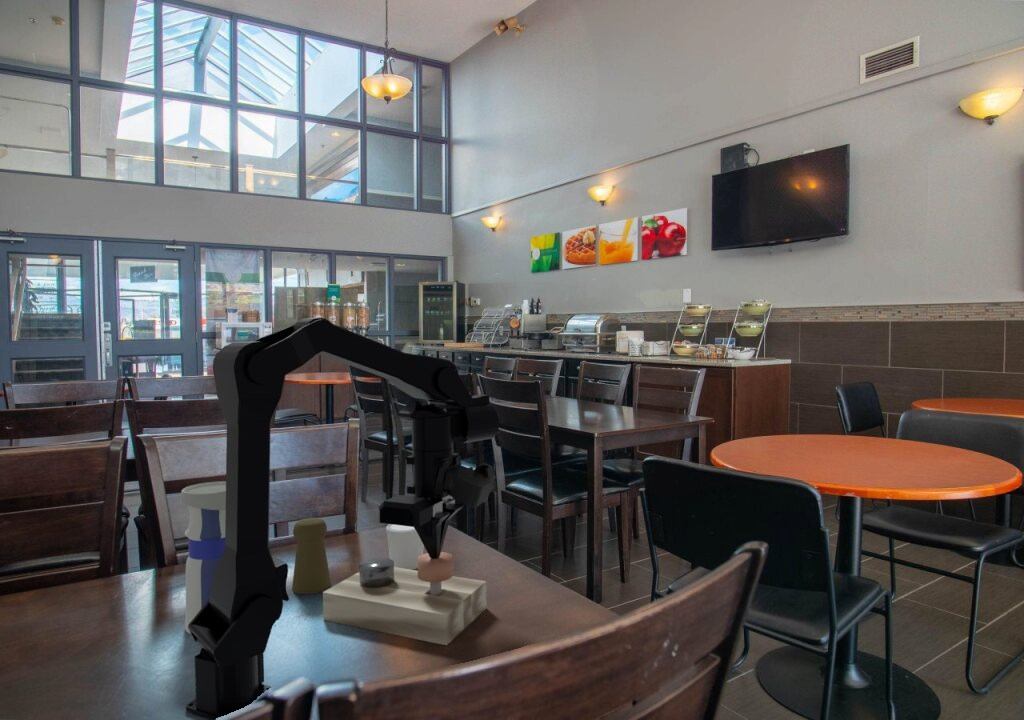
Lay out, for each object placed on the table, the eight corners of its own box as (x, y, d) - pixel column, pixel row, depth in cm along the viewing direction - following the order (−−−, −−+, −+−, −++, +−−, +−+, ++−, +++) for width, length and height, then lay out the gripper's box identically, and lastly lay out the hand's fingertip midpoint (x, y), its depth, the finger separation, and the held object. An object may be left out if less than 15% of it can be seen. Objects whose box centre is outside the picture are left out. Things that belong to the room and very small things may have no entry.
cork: (319, 595, 97) (317, 525, 97) (284, 592, 99) (282, 524, 98) (337, 580, 103) (336, 514, 103) (304, 578, 104) (302, 513, 104)
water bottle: (249, 604, 94) (244, 440, 93) (247, 629, 86) (241, 449, 85) (188, 614, 91) (182, 444, 90) (180, 640, 83) (173, 454, 82)
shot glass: (382, 561, 112) (381, 523, 112) (419, 555, 115) (419, 517, 115) (392, 574, 106) (391, 533, 105) (431, 567, 109) (430, 528, 108)
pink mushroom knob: (442, 611, 85) (441, 566, 85) (411, 606, 87) (410, 561, 87) (460, 597, 89) (459, 554, 89) (429, 592, 91) (429, 550, 91)
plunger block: (446, 645, 81) (445, 615, 81) (323, 619, 89) (322, 592, 89) (486, 608, 92) (486, 581, 92) (373, 588, 100) (373, 563, 100)
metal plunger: (381, 615, 89) (380, 571, 89) (353, 609, 91) (352, 567, 91) (401, 601, 94) (400, 560, 93) (373, 596, 96) (372, 556, 95)
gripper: (451, 464, 76) (453, 591, 76) (511, 440, 93) (513, 544, 93) (374, 458, 80) (377, 578, 81) (446, 437, 97) (448, 535, 98)
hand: (434, 557), depth 88 cm, fingers closed, pressing on pink mushroom knob
